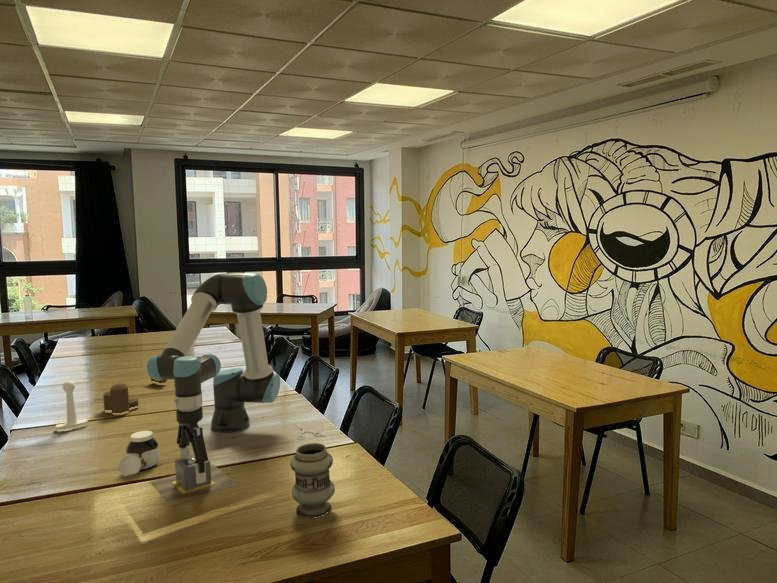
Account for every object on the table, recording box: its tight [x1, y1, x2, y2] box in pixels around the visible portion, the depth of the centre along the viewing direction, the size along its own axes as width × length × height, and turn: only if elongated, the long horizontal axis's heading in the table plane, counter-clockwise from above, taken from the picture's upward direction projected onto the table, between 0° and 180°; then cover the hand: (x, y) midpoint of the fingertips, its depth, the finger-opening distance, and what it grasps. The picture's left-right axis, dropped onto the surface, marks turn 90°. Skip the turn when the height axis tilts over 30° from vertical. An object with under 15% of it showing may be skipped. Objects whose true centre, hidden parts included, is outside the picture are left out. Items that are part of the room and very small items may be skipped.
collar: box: [174, 454, 211, 491], centre depth 167 cm, size 8×8×7 cm
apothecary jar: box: [289, 442, 336, 519], centre depth 152 cm, size 12×12×18 cm
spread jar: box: [118, 430, 160, 477], centre depth 181 cm, size 12×11×12 cm
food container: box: [150, 377, 168, 383], centre depth 288 cm, size 12×6×10 cm, turn 58°
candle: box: [103, 380, 139, 414], centre depth 243 cm, size 14×14×15 cm
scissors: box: [296, 428, 326, 441], centre depth 215 cm, size 11×1×20 cm
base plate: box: [150, 463, 239, 507], centre depth 168 cm, size 20×20×2 cm
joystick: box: [55, 380, 89, 431], centre depth 223 cm, size 11×8×20 cm
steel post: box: [187, 458, 196, 466], centre depth 167 cm, size 3×3×8 cm
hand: (193, 474), depth 167 cm, fingers open, 13 cm apart
